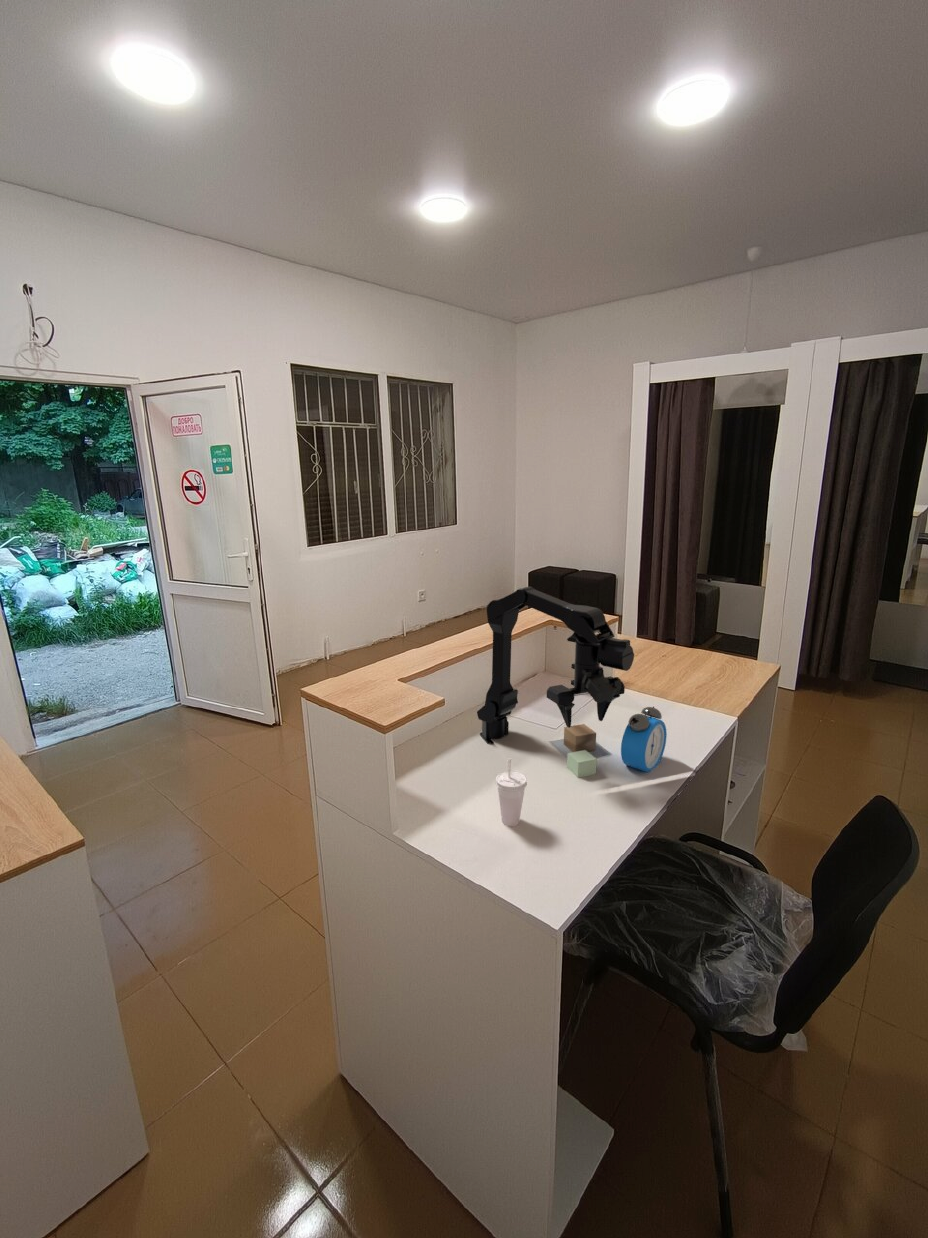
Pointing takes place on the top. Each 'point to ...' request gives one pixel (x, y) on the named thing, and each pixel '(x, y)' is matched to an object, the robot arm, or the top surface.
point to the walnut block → (579, 738)
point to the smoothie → (511, 795)
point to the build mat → (564, 750)
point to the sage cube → (581, 763)
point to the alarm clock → (644, 740)
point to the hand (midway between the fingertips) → (584, 723)
